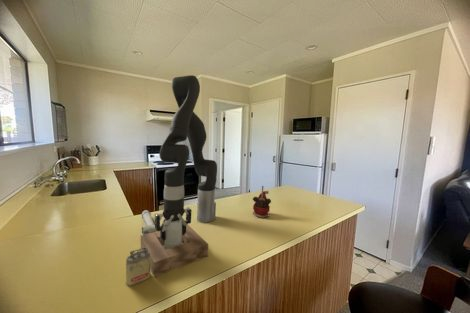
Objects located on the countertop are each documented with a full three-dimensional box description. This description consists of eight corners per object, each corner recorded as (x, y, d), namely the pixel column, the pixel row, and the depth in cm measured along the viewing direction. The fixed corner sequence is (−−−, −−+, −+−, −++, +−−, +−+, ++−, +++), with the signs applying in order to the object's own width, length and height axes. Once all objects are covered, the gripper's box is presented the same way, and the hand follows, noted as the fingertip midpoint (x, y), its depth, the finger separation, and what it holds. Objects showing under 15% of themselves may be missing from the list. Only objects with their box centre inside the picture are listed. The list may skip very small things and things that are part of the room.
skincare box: (182, 245, 80) (183, 217, 78) (179, 252, 76) (180, 222, 74) (167, 245, 80) (167, 217, 78) (163, 251, 75) (164, 222, 74)
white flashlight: (149, 217, 109) (159, 236, 88) (136, 219, 105) (143, 240, 84) (149, 208, 108) (159, 225, 87) (136, 210, 105) (143, 228, 84)
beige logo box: (127, 287, 59) (126, 256, 58) (124, 280, 62) (124, 250, 61) (151, 277, 63) (151, 248, 62) (148, 271, 66) (148, 243, 65)
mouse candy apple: (250, 216, 115) (252, 186, 113) (254, 211, 124) (255, 183, 122) (268, 219, 111) (270, 189, 109) (270, 213, 120) (273, 185, 118)
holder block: (187, 234, 92) (187, 223, 91) (207, 256, 76) (208, 244, 75) (140, 247, 80) (140, 235, 79) (153, 276, 64) (153, 262, 63)
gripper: (187, 191, 82) (186, 228, 84) (151, 196, 74) (151, 237, 76) (195, 196, 77) (194, 236, 78) (157, 202, 68) (157, 246, 70)
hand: (173, 236), depth 77 cm, fingers closed on skincare box, 7 cm apart
